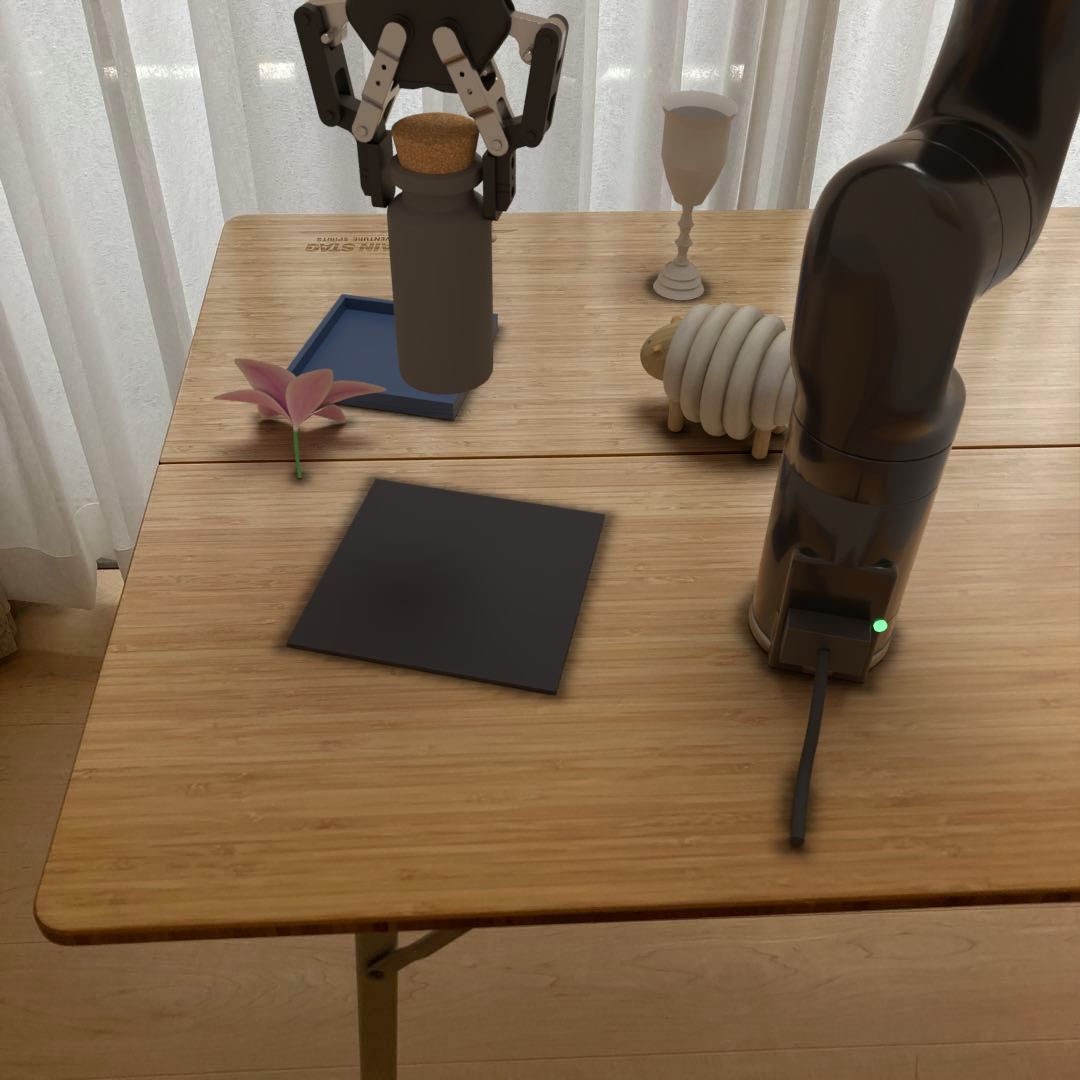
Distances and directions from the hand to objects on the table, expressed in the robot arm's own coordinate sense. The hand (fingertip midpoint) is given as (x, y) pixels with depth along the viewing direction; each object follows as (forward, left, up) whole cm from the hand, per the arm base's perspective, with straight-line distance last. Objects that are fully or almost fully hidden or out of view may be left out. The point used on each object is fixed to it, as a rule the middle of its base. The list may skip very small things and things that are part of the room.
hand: (439, 207), depth 62 cm
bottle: (0, 0, -11) cm, 11 cm away
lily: (+11, +15, -27) cm, 33 cm away
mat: (-1, -1, -27) cm, 27 cm away
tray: (+25, +12, -27) cm, 38 cm away
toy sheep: (+21, -18, -27) cm, 38 cm away
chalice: (+45, -11, -27) cm, 53 cm away
